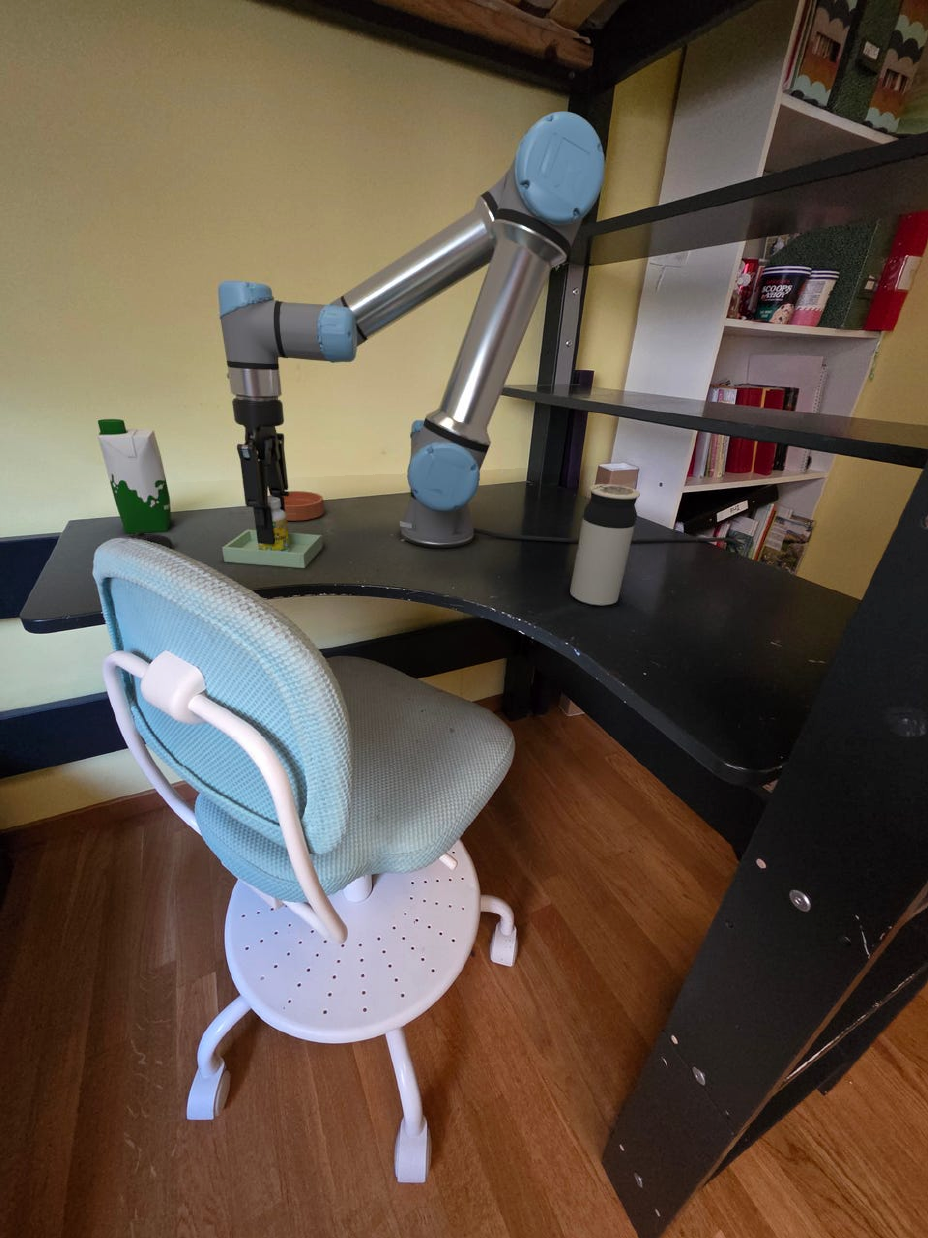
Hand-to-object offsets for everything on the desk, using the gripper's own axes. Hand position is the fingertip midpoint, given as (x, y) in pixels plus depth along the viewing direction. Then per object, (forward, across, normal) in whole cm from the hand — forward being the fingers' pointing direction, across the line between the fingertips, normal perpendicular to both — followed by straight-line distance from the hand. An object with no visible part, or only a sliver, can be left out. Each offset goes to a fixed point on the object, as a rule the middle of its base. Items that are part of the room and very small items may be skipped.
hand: (273, 537), depth 92 cm
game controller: (+4, +5, -22) cm, 23 cm away
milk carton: (+4, -9, -29) cm, 30 cm away
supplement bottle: (+3, 0, 0) cm, 3 cm away
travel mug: (+3, +7, +57) cm, 58 cm away
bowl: (+3, -25, -5) cm, 26 cm away
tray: (+3, 0, 0) cm, 3 cm away
